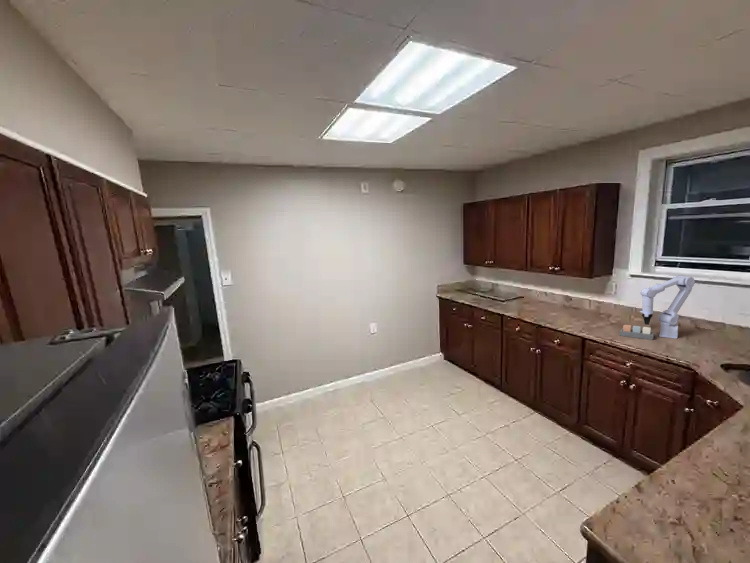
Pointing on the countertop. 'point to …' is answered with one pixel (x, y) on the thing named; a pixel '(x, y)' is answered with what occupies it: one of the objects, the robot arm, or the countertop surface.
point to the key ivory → (646, 330)
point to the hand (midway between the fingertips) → (646, 324)
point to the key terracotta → (627, 328)
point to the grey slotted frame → (637, 334)
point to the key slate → (637, 329)
